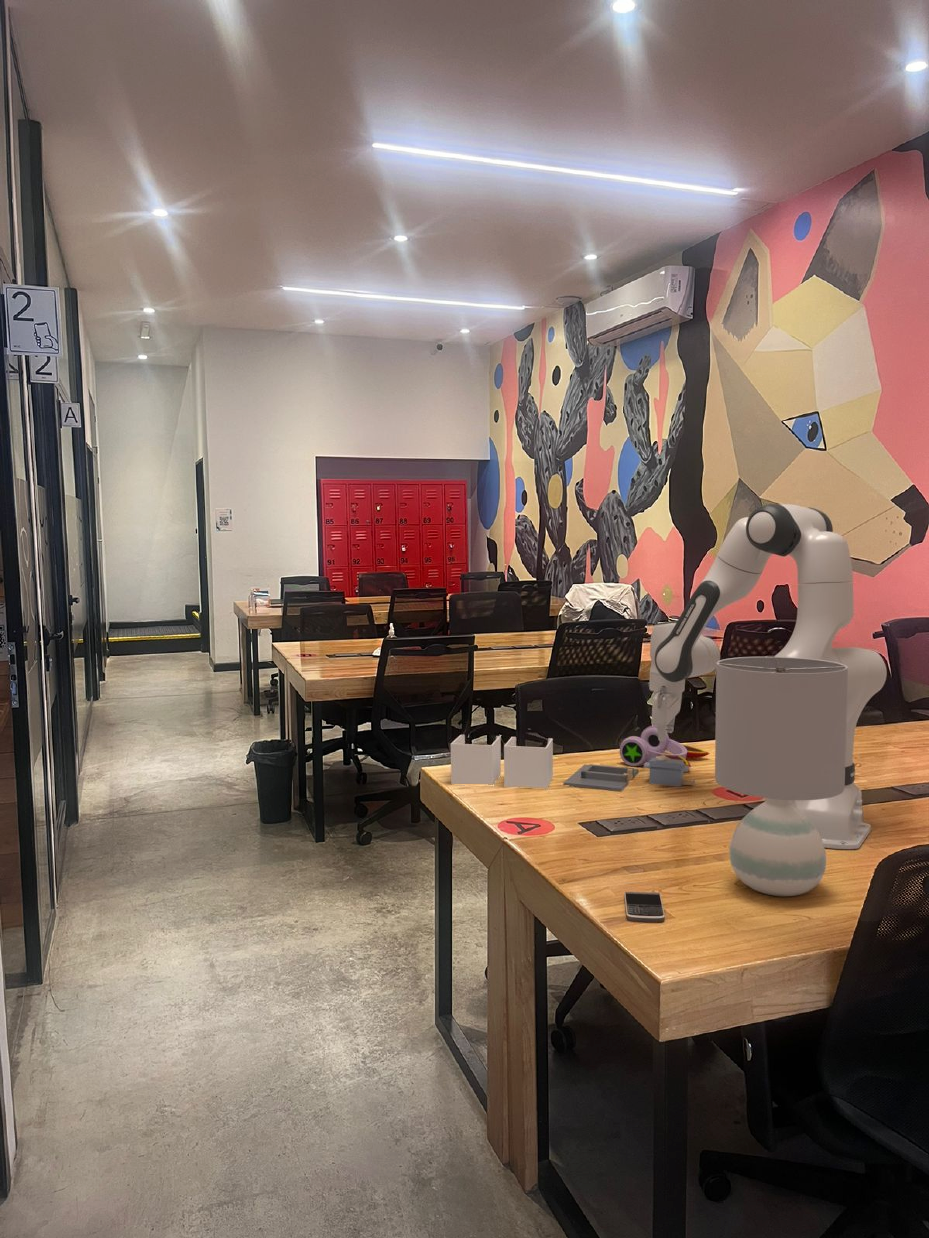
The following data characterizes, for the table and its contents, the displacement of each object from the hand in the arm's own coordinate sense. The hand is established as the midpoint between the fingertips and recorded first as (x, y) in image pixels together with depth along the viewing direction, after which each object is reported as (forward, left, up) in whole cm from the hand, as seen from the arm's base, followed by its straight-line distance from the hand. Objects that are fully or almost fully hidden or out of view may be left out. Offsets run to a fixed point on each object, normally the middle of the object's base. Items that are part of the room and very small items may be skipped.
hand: (665, 736), depth 226 cm
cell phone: (-80, -11, -13) cm, 82 cm away
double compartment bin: (-14, +40, -13) cm, 44 cm away
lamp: (-62, -31, -12) cm, 71 cm away
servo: (0, 0, -12) cm, 12 cm away
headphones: (+22, +4, -13) cm, 25 cm away
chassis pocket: (-2, +16, -12) cm, 20 cm away
